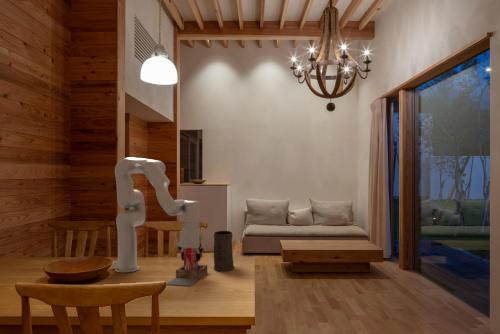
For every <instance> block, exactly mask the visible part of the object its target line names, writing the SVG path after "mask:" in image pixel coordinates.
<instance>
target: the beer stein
mask: <svg viewBox="0 0 500 334" xmlns="http://www.w3.org/2000/svg"><path fill="white" fill-rule="evenodd" d="M233 256H234V255H233V232H232V231H230V230H218V231H215V232H214V233H213V264H214V266H213V269H214V271H217V272H223V273H224V272H230V271H232V270H233V269H234V268H235V267H234V258H233Z"/></svg>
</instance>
